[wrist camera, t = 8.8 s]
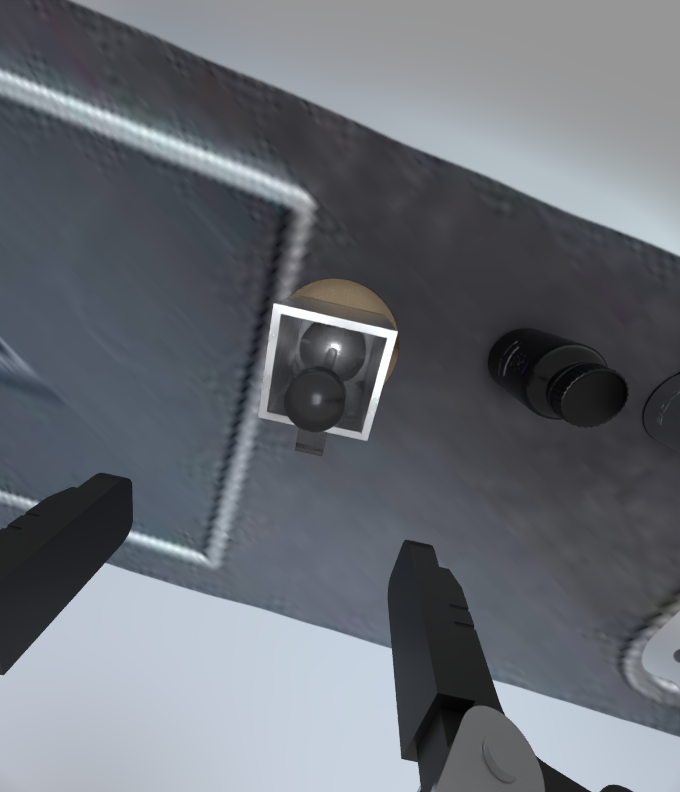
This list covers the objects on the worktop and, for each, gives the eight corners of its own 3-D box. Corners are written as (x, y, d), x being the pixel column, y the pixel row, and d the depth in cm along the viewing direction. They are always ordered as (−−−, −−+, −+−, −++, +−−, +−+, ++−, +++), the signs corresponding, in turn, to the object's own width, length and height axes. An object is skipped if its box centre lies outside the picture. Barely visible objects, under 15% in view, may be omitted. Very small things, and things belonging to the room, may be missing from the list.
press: (414, 295, 33) (443, 303, 22) (379, 418, 38) (387, 477, 27) (282, 264, 33) (242, 257, 21) (264, 393, 38) (224, 441, 26)
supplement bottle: (481, 339, 34) (541, 369, 23) (547, 318, 33) (645, 339, 22) (492, 396, 36) (552, 449, 25) (555, 378, 35) (647, 425, 24)
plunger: (373, 325, 32) (385, 362, 18) (357, 387, 34) (356, 465, 20) (306, 310, 32) (264, 335, 17) (295, 374, 34) (250, 442, 20)
